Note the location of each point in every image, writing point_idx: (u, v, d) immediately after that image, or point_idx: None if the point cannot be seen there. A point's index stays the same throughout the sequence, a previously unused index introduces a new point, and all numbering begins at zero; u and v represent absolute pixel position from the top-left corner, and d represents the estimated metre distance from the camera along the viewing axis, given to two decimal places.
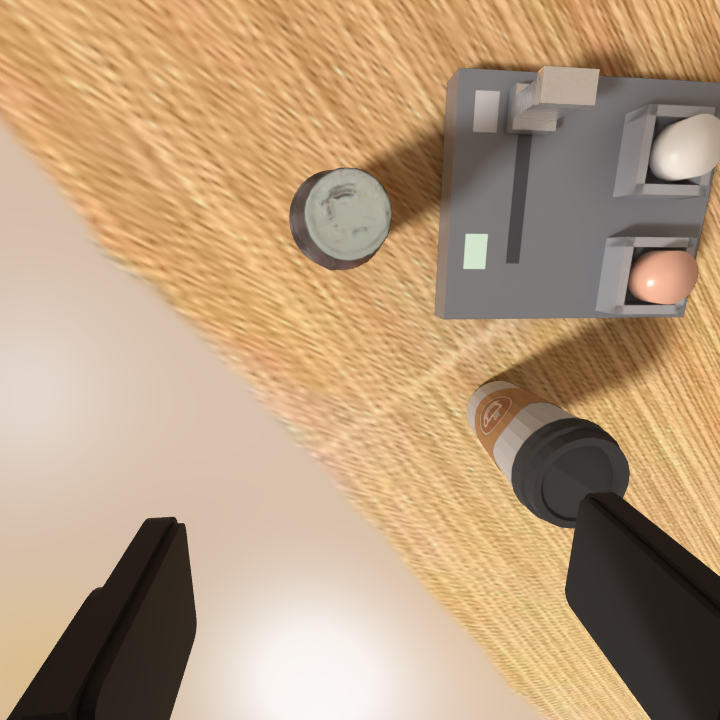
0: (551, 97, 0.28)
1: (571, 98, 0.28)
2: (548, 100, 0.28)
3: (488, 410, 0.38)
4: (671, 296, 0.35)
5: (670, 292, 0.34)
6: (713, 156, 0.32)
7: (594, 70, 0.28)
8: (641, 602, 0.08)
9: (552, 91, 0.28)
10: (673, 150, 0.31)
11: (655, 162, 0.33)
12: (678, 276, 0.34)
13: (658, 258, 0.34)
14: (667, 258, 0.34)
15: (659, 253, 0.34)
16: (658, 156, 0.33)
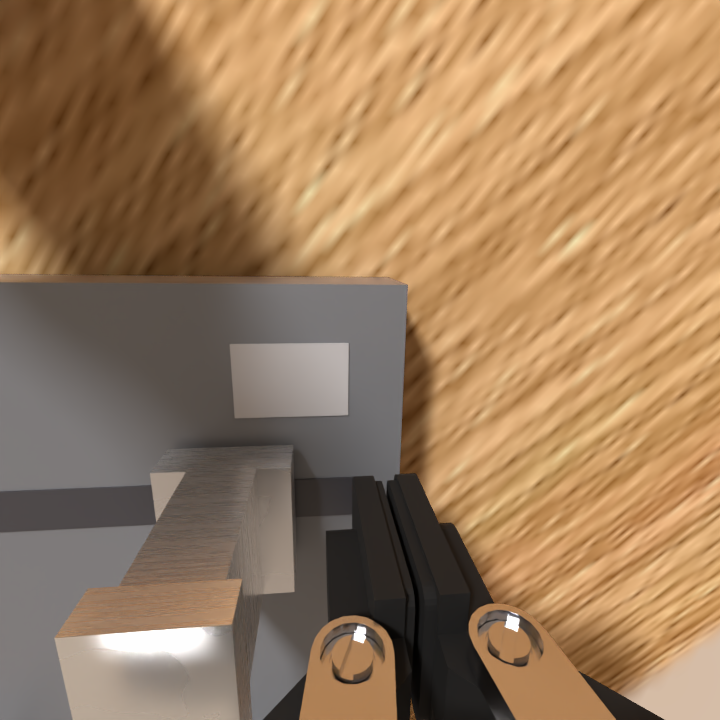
0: (92, 681, 0.05)
1: None
2: (72, 671, 0.05)
3: None
4: None
5: None
6: None
7: None
8: None
9: (121, 680, 0.06)
10: None
11: None
12: None
13: None
14: None
15: None
16: None
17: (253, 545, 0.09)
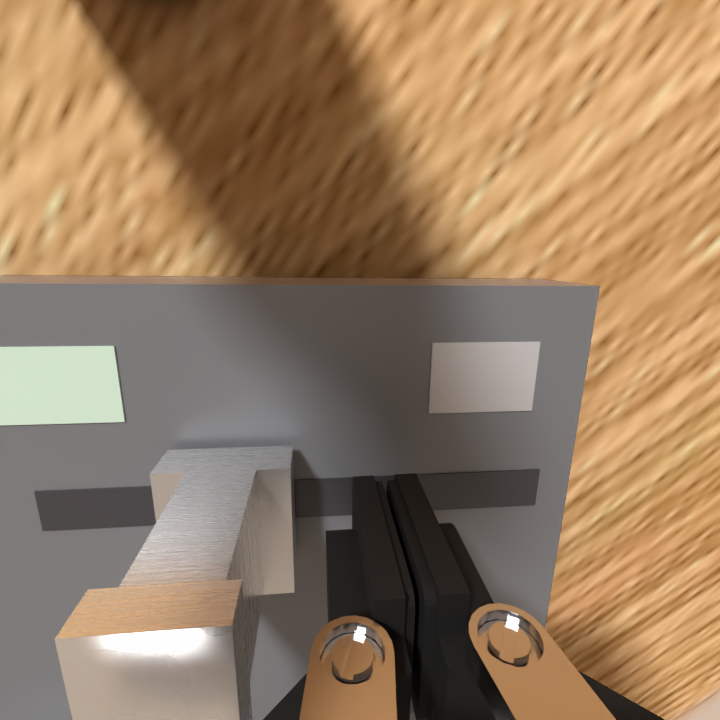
0: (92, 682, 0.05)
1: None
2: (72, 673, 0.05)
3: None
4: None
5: None
6: None
7: None
8: None
9: (121, 681, 0.06)
10: None
11: None
12: None
13: None
14: None
15: None
16: None
17: (253, 546, 0.09)
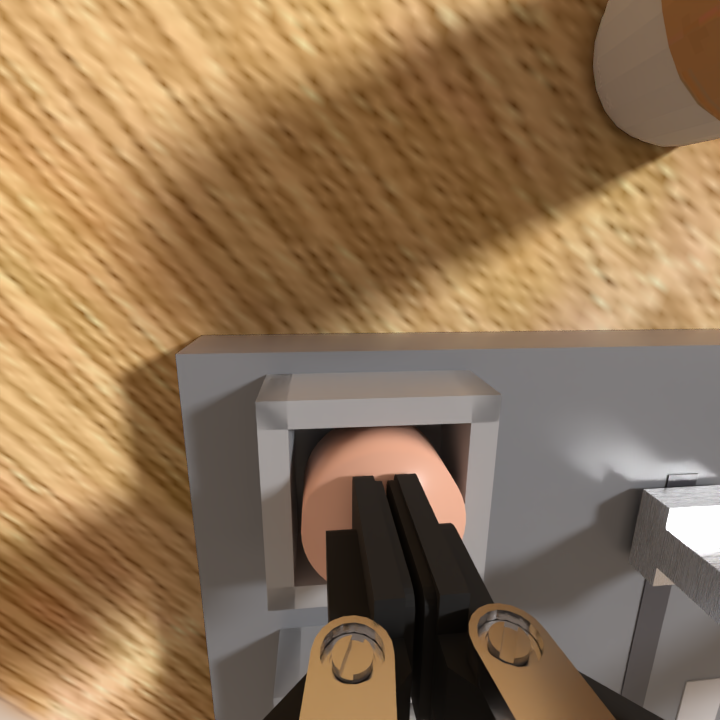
0: None
1: None
2: None
3: None
4: (379, 476, 0.10)
5: (384, 486, 0.11)
6: None
7: None
8: None
9: None
10: None
11: None
12: None
13: None
14: None
15: None
16: None
17: None
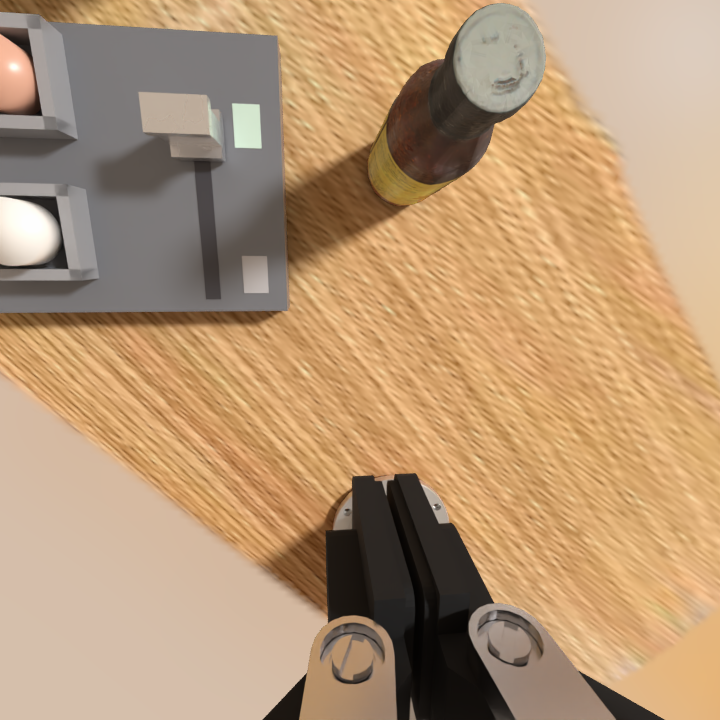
0: (194, 100, 0.25)
1: (169, 99, 0.25)
2: (197, 96, 0.25)
3: None
4: None
5: None
6: None
7: (149, 130, 0.25)
8: None
9: (194, 107, 0.25)
10: (38, 226, 0.27)
11: (51, 219, 0.29)
12: None
13: (18, 96, 0.27)
14: (5, 96, 0.26)
15: (17, 107, 0.27)
16: (51, 225, 0.29)
17: (198, 142, 0.29)
